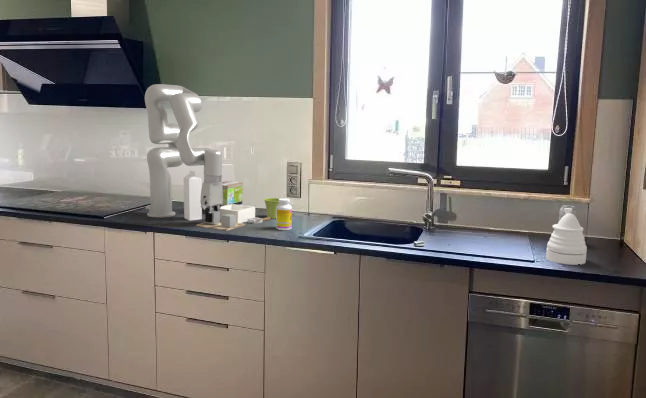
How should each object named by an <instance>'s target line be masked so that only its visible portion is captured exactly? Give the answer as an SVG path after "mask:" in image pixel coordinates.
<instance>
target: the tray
mask: <svg viewBox="0 0 646 398" xmlns="http://www.w3.org/2000/svg"><path fill="white" fill-rule="evenodd" d="M243 226H246V223H244V222H243V223H236V226H234V227H230V228H225V227H221V220H220V223H217V224H208V223H206V221H204V222H201V223H197V224H196V225H195V227H198V228H206V229H213V230H218V231H219V230H220V231H231V230H234V229H237V228H242V227H243Z"/></svg>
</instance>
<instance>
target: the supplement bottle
mask: <svg viewBox="0 0 646 398" xmlns="http://www.w3.org/2000/svg"><path fill="white" fill-rule="evenodd" d="M290 202H291V200H290V198H280V199H279V205H277V207H276V218H275V229H276V230H277V231H290V230H292V227H293V226H292V223H293V222H292V221H293V220H292V219H293V207H292V205H291V204H290Z"/></svg>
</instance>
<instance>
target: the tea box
mask: <svg viewBox="0 0 646 398" xmlns="http://www.w3.org/2000/svg"><path fill="white" fill-rule="evenodd" d="M222 187H223V204H222V206H225V205H230V204H235V205H243V191H244V189H243V188H244V185H243V181H241V182H240V181H232V180H231V181H230V180H224V181H222ZM212 210H213V206H212Z"/></svg>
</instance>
